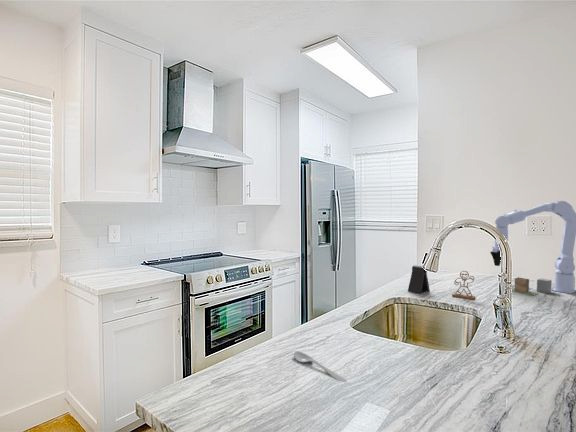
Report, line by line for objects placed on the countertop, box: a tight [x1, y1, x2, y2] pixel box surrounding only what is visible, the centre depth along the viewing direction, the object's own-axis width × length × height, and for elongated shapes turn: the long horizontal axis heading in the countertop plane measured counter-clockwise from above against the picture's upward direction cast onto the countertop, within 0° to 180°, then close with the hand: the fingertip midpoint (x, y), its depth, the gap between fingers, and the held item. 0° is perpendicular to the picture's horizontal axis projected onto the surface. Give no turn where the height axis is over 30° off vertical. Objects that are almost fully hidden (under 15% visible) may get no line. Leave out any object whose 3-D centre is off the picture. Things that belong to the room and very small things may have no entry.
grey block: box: [536, 278, 552, 294], centre depth 172 cm, size 4×4×6 cm
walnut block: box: [514, 277, 530, 294], centre depth 171 cm, size 4×4×6 cm
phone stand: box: [407, 265, 431, 295], centre depth 170 cm, size 9×6×12 cm, turn 127°
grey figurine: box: [451, 270, 476, 301], centre depth 160 cm, size 9×4×12 cm, turn 52°
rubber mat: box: [511, 288, 540, 296], centre depth 171 cm, size 6×12×1 cm, turn 37°
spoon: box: [293, 351, 347, 383], centre depth 89 cm, size 4×21×2 cm, turn 40°
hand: (500, 265), depth 186 cm, fingers open, 7 cm apart
